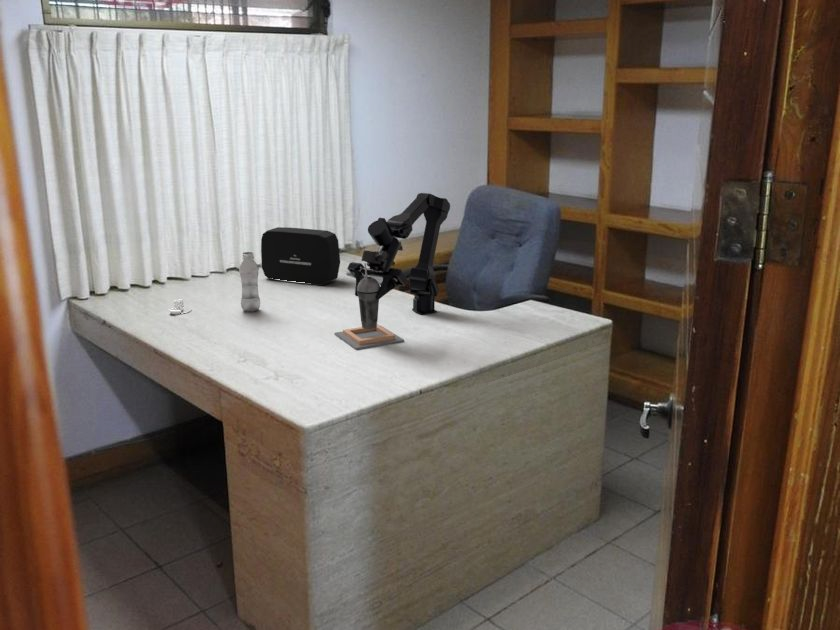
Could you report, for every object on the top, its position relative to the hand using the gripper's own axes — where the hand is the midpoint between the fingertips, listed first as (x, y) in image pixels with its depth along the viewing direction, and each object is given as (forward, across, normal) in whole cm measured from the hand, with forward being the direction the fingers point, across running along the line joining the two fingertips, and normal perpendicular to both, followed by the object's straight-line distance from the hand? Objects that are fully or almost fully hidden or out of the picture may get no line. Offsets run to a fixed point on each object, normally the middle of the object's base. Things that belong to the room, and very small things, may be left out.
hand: (366, 297), depth 233 cm
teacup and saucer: (+18, -73, +1) cm, 75 cm away
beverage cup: (+6, 0, +8) cm, 10 cm away
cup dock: (+9, 0, +10) cm, 13 cm away
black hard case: (-23, -63, +43) cm, 79 cm away
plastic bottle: (+7, -51, +12) cm, 52 cm away
